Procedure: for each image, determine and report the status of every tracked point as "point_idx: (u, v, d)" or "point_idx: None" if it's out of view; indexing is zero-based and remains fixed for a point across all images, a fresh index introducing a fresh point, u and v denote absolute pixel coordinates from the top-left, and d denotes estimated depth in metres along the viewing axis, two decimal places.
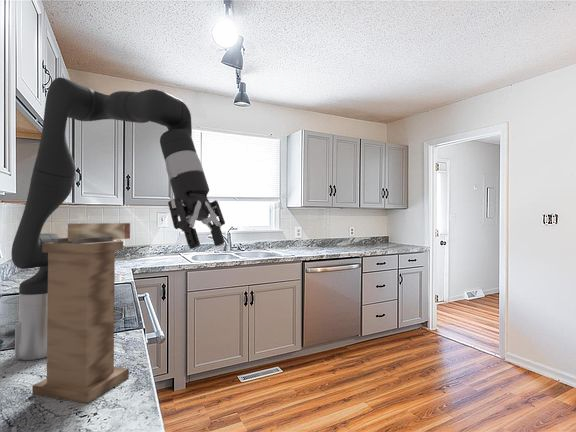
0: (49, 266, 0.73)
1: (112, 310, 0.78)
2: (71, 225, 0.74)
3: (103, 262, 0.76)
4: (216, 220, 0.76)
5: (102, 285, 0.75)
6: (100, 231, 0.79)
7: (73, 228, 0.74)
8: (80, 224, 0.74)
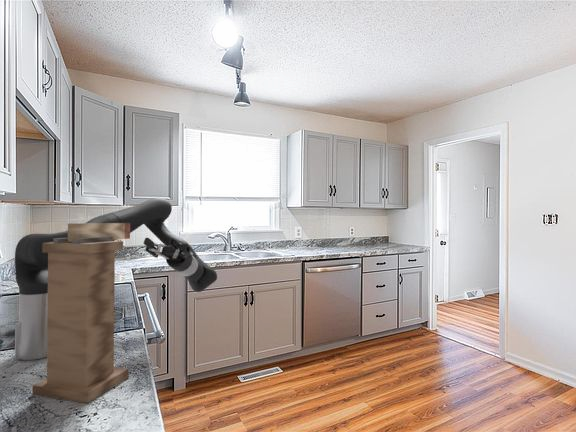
0: (49, 266, 0.73)
1: (112, 310, 0.78)
2: (71, 225, 0.74)
3: (103, 262, 0.76)
4: (154, 251, 1.08)
5: (102, 285, 0.75)
6: (100, 231, 0.79)
7: (73, 228, 0.74)
8: (80, 224, 0.74)
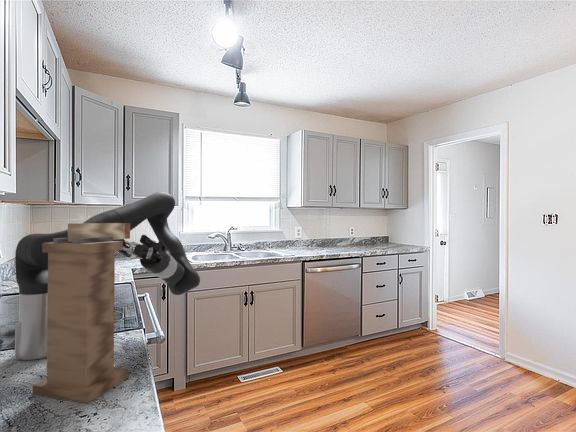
0: (49, 266, 0.73)
1: (112, 310, 0.78)
2: (71, 225, 0.74)
3: (103, 262, 0.76)
4: (125, 250, 0.95)
5: (102, 285, 0.75)
6: (100, 231, 0.79)
7: (73, 228, 0.74)
8: (80, 224, 0.74)
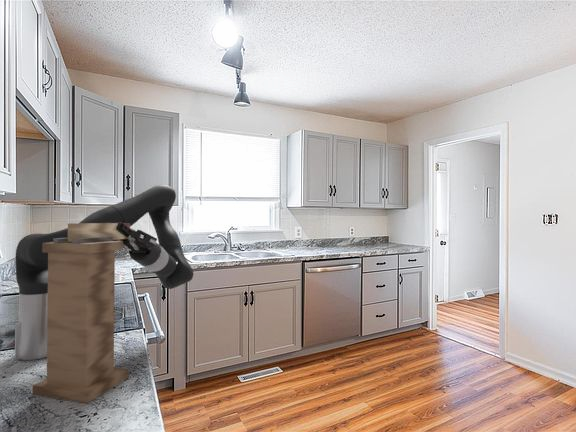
0: (49, 266, 0.73)
1: (112, 310, 0.78)
2: (71, 225, 0.74)
3: (103, 262, 0.76)
4: (117, 239, 0.90)
5: (102, 285, 0.75)
6: (100, 231, 0.79)
7: (73, 228, 0.74)
8: (80, 224, 0.74)
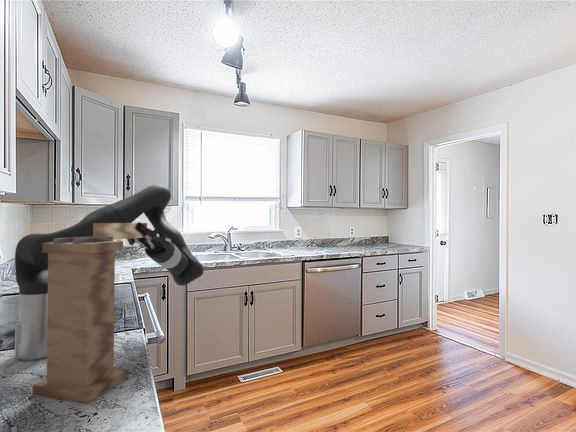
0: (49, 266, 0.73)
1: (112, 310, 0.78)
2: (96, 225, 0.81)
3: (103, 262, 0.76)
4: (135, 238, 0.96)
5: (102, 285, 0.75)
6: (121, 230, 0.86)
7: (98, 227, 0.81)
8: (105, 224, 0.81)
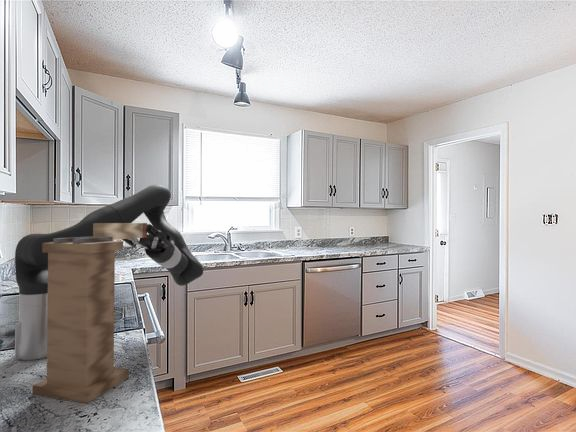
0: (49, 266, 0.73)
1: (112, 310, 0.78)
2: (96, 225, 0.81)
3: (103, 262, 0.76)
4: (131, 239, 0.98)
5: (102, 285, 0.75)
6: (121, 230, 0.86)
7: (98, 227, 0.81)
8: (105, 224, 0.81)
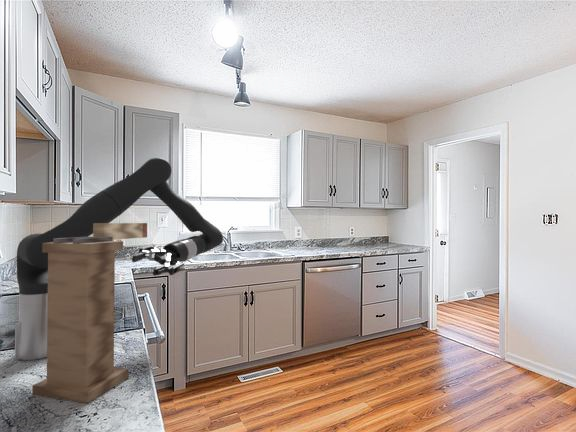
0: (49, 266, 0.73)
1: (112, 310, 0.78)
2: (96, 225, 0.81)
3: (103, 262, 0.76)
4: None
5: (102, 285, 0.75)
6: (121, 230, 0.86)
7: (98, 227, 0.81)
8: (105, 224, 0.81)
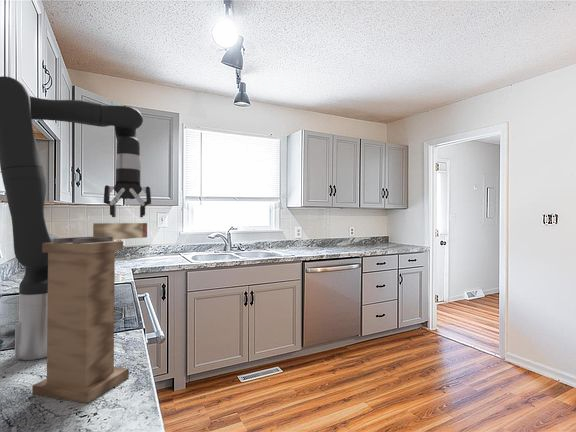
0: (49, 266, 0.73)
1: (112, 310, 0.78)
2: (96, 225, 0.81)
3: (103, 262, 0.76)
4: None
5: (102, 285, 0.75)
6: (121, 230, 0.86)
7: (98, 227, 0.81)
8: (105, 224, 0.81)
